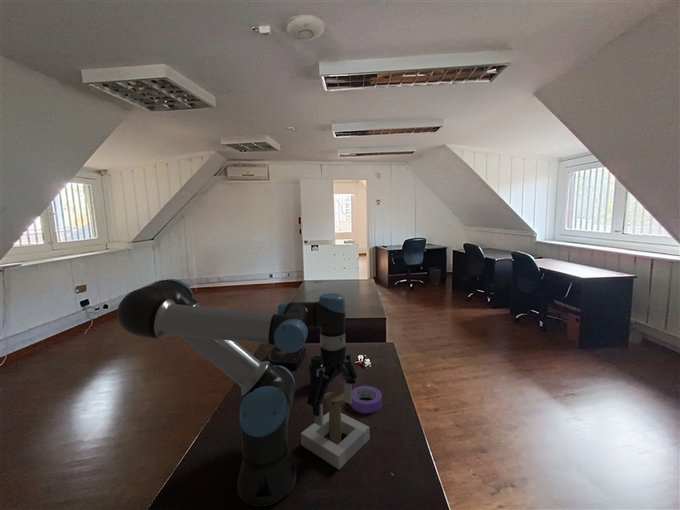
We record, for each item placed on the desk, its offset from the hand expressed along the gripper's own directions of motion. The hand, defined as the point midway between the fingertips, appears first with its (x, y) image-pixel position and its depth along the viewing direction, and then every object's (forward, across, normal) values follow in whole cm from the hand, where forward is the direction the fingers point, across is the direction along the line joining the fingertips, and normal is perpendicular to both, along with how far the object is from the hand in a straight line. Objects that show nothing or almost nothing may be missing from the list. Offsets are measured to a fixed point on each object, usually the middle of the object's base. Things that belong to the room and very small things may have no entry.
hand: (334, 412), depth 93 cm
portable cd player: (+11, +26, +55) cm, 62 cm away
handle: (+10, 0, 0) cm, 10 cm away
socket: (+10, 0, 0) cm, 10 cm away
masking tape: (+10, +22, +4) cm, 25 cm away
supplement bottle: (+10, +20, +27) cm, 35 cm away
